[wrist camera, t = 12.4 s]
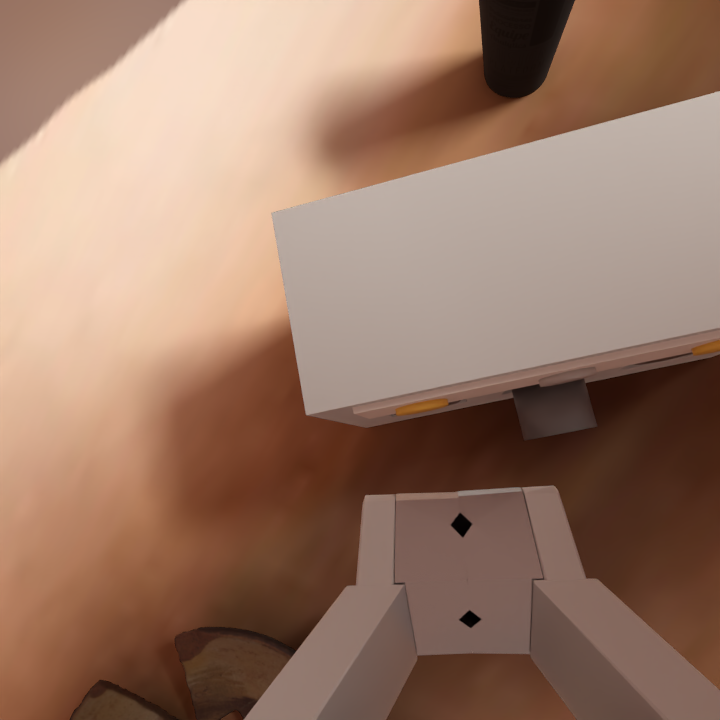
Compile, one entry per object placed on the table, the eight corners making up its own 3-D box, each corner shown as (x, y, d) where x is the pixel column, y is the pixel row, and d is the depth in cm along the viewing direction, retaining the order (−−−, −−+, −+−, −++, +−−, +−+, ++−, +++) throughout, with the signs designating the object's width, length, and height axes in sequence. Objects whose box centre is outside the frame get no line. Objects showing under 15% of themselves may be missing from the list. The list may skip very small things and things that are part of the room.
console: (713, 365, 36) (902, 304, 21) (367, 435, 40) (308, 428, 24) (667, 221, 38) (807, 67, 23) (341, 300, 42) (271, 212, 26)
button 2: (588, 427, 32) (605, 425, 28) (520, 440, 33) (528, 439, 29) (575, 378, 33) (590, 369, 29) (508, 392, 33) (514, 385, 30)
